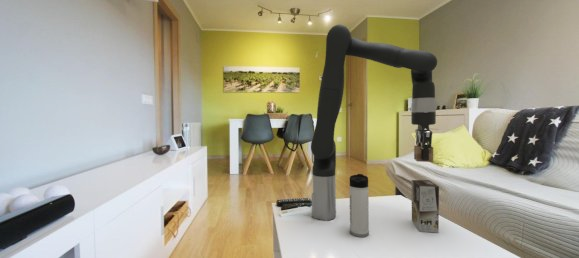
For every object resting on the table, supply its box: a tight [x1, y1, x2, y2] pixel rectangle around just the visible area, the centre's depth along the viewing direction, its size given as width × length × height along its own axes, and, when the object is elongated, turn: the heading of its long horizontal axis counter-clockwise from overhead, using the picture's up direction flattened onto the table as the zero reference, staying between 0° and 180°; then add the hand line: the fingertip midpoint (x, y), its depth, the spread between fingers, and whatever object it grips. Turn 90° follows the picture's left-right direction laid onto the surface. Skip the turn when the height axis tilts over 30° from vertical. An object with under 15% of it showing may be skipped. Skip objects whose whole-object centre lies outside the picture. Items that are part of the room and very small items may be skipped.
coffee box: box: [411, 179, 440, 233], centre depth 85 cm, size 9×6×16 cm
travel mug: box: [349, 173, 370, 238], centre depth 81 cm, size 6×7×20 cm
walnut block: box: [413, 145, 434, 163], centre depth 84 cm, size 5×5×5 cm
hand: (423, 158), depth 84 cm, fingers closed on walnut block, 5 cm apart
